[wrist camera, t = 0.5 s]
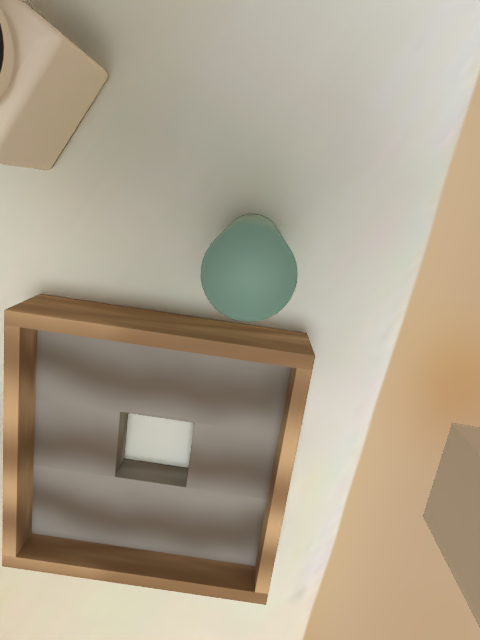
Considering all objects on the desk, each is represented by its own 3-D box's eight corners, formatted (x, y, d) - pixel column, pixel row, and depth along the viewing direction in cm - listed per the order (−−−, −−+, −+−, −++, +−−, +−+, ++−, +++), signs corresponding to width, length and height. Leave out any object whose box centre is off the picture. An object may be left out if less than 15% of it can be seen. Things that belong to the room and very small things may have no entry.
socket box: (40, 294, 34) (4, 309, 29) (306, 333, 34) (314, 355, 29) (33, 520, 39) (2, 566, 34) (264, 554, 39) (265, 604, 34)
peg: (228, 210, 32) (206, 219, 18) (284, 218, 32) (305, 233, 18) (220, 266, 33) (195, 314, 19) (275, 274, 33) (288, 328, 19)
